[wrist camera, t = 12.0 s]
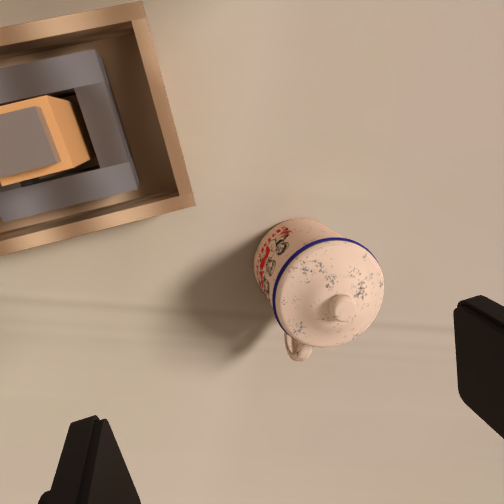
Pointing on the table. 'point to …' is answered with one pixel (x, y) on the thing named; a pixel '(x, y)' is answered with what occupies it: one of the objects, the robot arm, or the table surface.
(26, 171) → the block
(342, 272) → the teacup with lid
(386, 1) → the table surface
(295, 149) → the table surface
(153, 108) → the oak box
